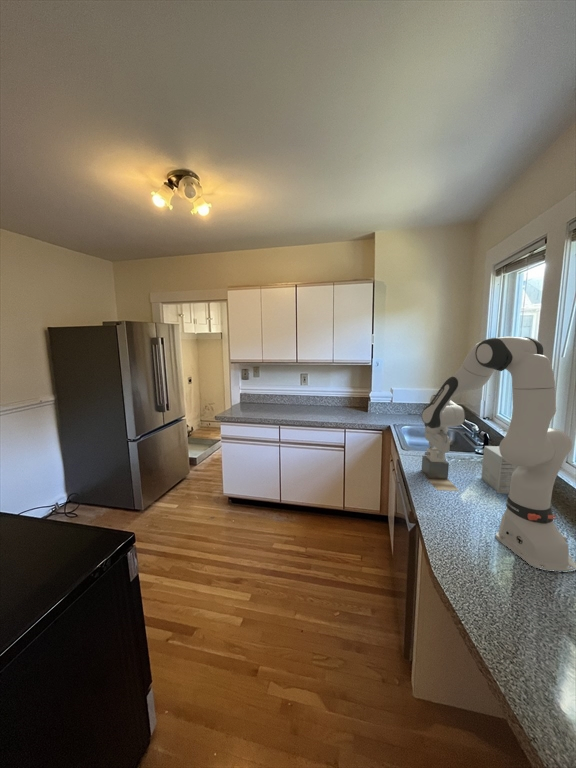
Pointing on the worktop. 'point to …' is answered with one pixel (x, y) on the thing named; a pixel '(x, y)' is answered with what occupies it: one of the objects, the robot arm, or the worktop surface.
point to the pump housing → (434, 455)
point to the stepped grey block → (434, 469)
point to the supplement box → (496, 470)
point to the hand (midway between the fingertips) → (435, 454)
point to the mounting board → (442, 484)
